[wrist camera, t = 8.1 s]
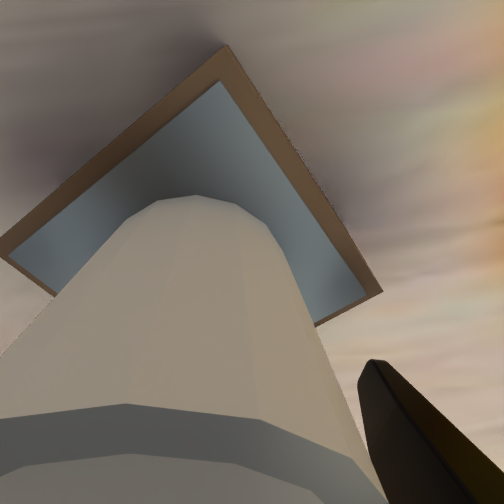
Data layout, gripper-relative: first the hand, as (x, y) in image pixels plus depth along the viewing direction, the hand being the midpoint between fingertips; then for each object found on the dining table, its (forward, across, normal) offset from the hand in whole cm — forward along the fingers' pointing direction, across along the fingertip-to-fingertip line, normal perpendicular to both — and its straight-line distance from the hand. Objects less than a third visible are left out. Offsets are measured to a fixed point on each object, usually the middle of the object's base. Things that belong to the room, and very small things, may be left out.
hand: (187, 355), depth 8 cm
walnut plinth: (+8, 0, 0) cm, 8 cm away
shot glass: (+3, 0, 0) cm, 3 cm away
